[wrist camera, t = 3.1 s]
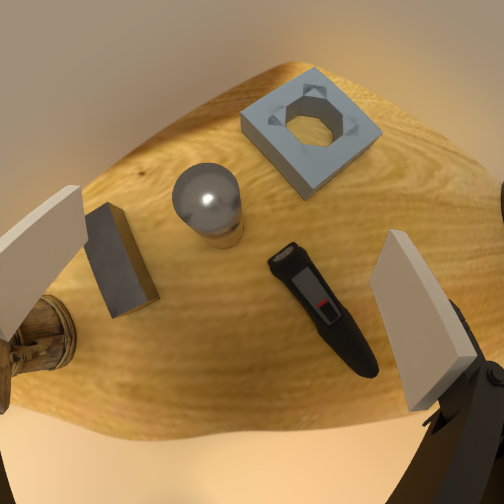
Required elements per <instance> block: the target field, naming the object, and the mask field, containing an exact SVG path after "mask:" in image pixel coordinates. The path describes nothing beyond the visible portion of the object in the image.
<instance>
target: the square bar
mask: <svg viewBox="0 0 504 504" xmlns="http://www.w3.org/2000/svg"><path fill="white" fill-rule="evenodd" d="M85 222H86V228H87V235H88V241H87V242H86V244H85V245H84V249H85V252H86V254H87V257H88V260H89V263H90V265H91V268H92V271H93V273H94V276H95V279H96V281H97V284H98V286H99V289H100V291H101V294H102V296H103V298H104V301H105V303H106V305H107V308H108V310H109V312H110V315H111V317H112V319H113V318H117V317H121V316H124V315H128V314H130V313H132V312H134V311H136V310H138V309H140V308H142V307H144V306H146V305H148V304H150V303H152V302H154V301H156V300H158V299H160V297H159V295H158V293H157V290H156V288H155V286H154V284H153V282H152V279H151V277H150V275H149V273H148V270H147V268H146V266H145V263H144V261H143V259H142V256H141V254H140V252H139V249H138V247H137V244H136V242H135V240H134V237H133V235H132V232H131V230H130V227H129V224H128V222H127V219H126V217H125V214H124V211H123V210H121V209H120V208H118V207H116V206H114V205H112V204H111V203H109V202H107V203H105V204H103V205H102V206H100V207H99V208H97V209H95V210H94V211H92V212H91V213H89V214H87V215H86V216H85Z"/></svg>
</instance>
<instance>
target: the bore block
mask: <svg viewBox="0 0 504 504" xmlns="http://www.w3.org/2000/svg"><path fill="white" fill-rule="evenodd" d="M297 115H302V116H310V117H317V118H319V119H320V120H321V121H322V122H323V123H324V124H325V125H326V126H327V127H328V128H329V129H330V130H331V131H332V132H333V143H332V144H330V145H329V146H328V147H321V146H314V145H307V144H302V143H301V142H300V141H299V140H298V139H297V138H296V137H295V136H294V135H293V134H292V133H291V132H290V131H289V130H288V129H287V128H286V127H285V123H287V122H288V121H290V120H291V119H293V118H294V117H295V116H297ZM240 116H241V131H242V132H243V133H244V134H245V135H246V136H247V137H248V139H249V140H250V141H251V142H252V143H253V144H254V145H255V146H256V147H257V148H258V149H259V150H260V151H261V152H262V153H263V154H264V155H265V157H266V158H267V159H268V160H269V161H270V162H271V163H272V164H273V165H274V166H275V167H276V168H277V170H278V171H279V172H280V173H281V174H282V175H283V176H284V177H285V178H286V180H287V181H288V182H289V183H290V184H291V185H292V186H293V187H294V189H295V190H296V191H297V192H298V193H299V194H300V195H301V196H302V198H303V199H304V200H306V199H308V198H309V197H310V196H311V195H313V194H314V193H315V192H316V191H317V190H319V189H320V188H321V187H322V186H323V185H325V184H326V183H327V182H328V181H330V180H331V179H332V178H333V177H334V176H336V175H337V174H338V173H339V172H341V171H342V170H343V169H344V168H346V167H347V166H348V165H349V164H350V163H352V162H353V161H354V160H355V159H357V158H358V157H359V156H360V155H361V154H363V153H364V152H365V151H366V150H368V149H369V148H370V147H371V146H372V145H373V143H374V142H375V141H376V140H377V139H378V138H379V137H380V136H381V134H382V133H383V132H382V131H381V130H380V129H379V128H378V127H377V126H376V125H375V124H374V122H373V121H372V120H371V119H370V118H369V117H368V116H367V115H366V114H365V113H364V112H363V111H362V110H361V109H360V108H359V107H358V106H357V105H356V104H355V103H354V102H353V101H352V100H351V99H350V98H349V97H348V96H347V95H346V94H345V93H344V92H342V91H341V90H340V89H339V88H338V87H337V86H336V85H335V84H334V83H333V82H332V81H330V80H329V79H328V78H327V77H326V76H325V75H324V74H323V73H321V72H320V71H319V70H318V69H317V68H316V67H313V68H311V69H310V70H308V71H306V72H304V73H302V74H301V75H299V76H297V77H296V78H294V79H292V80H290V81H289V82H287V83H285V84H284V85H282V86H280V87H279V88H277V89H275V90H274V91H272V92H271V93H269V94H267V95H266V96H264V97H263V98H261V99H259V100H258V101H256V102H255V103H253V104H252V105H250V106H249V107H247V108H246V109H244V110H243V111H241V112H240Z"/></svg>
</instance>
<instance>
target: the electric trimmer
mask: <svg viewBox="0 0 504 504" xmlns="http://www.w3.org/2000/svg"><path fill="white" fill-rule="evenodd" d="M268 264H269V265H270V270H271V272H272V274H273V275H274V276H275V277H277V278H278V279H280V280H281V281H282V282H283V283H284V284H285V285H286V286H287V288H288V289H289V290H290V291H291V292H292V293H293V295H294V296H295V297H296V298H297V299H298V301H299V302H300V303H301V304H302V306H303V307H304V308H305V309H306V311H307V312H308V313H309V315H310V316H311V318H312V319H313V321H314V322H315V323H316V326H317V328H318V332H319V334H320V335H321V336H322V338H323V339H324V340H325V341H326V342H327V343H328V344H329V345H330V346H331V347H332V349H333V350H334V351H335V352H336V353H337V354H338V355H339V356H340V357H341V358H342V359H343V360H344V361H345V362H346V363H347V364H348V365H349V367H350V368H351V369H352V370H354V371H355V372H356V373H357V374H358V375H359V376H362V377H366V378H374V377H376V376H377V375H378V373H379V367H378V363H377V360H376V358H375V356H374V354H373V352H372V350H371V349H370V347H369V345H368V343H367V342H366V340H365V338H364V336H363V335H362V333H361V331H360V329H359V328H358V326H357V324H356V323H355V321H354V319H353V318H352V316H351V315H350V313H349V312H348V310H347V309H346V308H344V307H343V305H342V304H341V303H340V302H339V300H338V299H337V298H336V296H335V295H334V293H333V292H332V290H331V289H330V287H329V286H328V284H327V283H326V281H325V280H324V279H323V277H322V276H321V274H320V273H319V271H318V270H317V268H316V267H315V265H314V264H313V262H312V261H311V259H310V258H309V256H308V254H307V252H306V251H305V250H304V249H303V248H301V247H299V246H298V245H297V244H296V243H295V242H292V243H290V244H288V245H287V246H286V247H285V248H283V249H282V250H281V251H279V252H278V253H277V254H275V255H274V256H273V257H272V258H270V259H269V260H268Z"/></svg>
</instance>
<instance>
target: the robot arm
mask: <svg viewBox="0 0 504 504" xmlns="http://www.w3.org/2000/svg"><path fill="white" fill-rule="evenodd" d="M502 212H503V219H504V182H503V187H502ZM87 241H88V235H87V228H86V222H85V215H84V208H83V200H82V191H81V186H74V185H67V186H66V187H65V188H63V189H62V190H60V191H59V192H58V193H56V194H55V195H53V196H52V197H51V198H49V199H48V200H47V201H45V202H44V203H43V204H41V205H40V206H39V207H38V208H36V209H35V210H33V211H32V212H31V213H30V214H28V215H27V216H26V217H25V218H23V219H22V220H21V221H20V222H19V223H17V224H16V225H15V226H14V227H13V228H11V229H10V230H9V231H8V232H7V233H6V234H4V235H3V236H2V237H1V238H0V338H1V339H3V340H5V341H7V342H9V341H10V339H11V338H12V336H13V335H14V333H15V332H16V330H17V329H18V327H19V326H20V325H21V323H22V322H23V320H24V319H25V318H26V316H27V315H28V313H29V312H30V311H31V309H32V308H33V307H34V305H35V304H36V303H37V301H38V300H39V299H40V297H41V296H42V295H43V294H44V292H45V291H46V290H47V288H48V287H49V286H50V285H51V283H52V282H53V281H54V280H55V279H56V277H57V276H58V275H59V274H60V272H61V271H62V270H63V269H64V268H65V266H66V265H67V264H68V263H69V262H70V261H71V259H72V258H73V257H74V256H75V255H76V254H77V253H78V251H79V250H80V249H81V248H82V247H83V246H84V245H85V244H86V242H87ZM369 283H370V286H371V289H372V292H373V294H374V297H375V300H376V303H377V306H378V308H379V311H380V314H381V317H382V320H383V323H384V326H385V329H386V332H387V335H388V339H389V342H390V345H391V348H392V351H393V355H394V358H395V362H396V365H397V368H398V372H399V375H400V379H401V383H402V386H403V390H404V394H405V398H406V402H407V406H408V410H409V412H411V411H421V410H428V409H429V408H430V407H431V406H432V405H433V404H434V403H435V402H436V401H437V400H438V401H439V404H440V408H439V409H438V410H437V411H436V412H435V413H434V414H433V415H432V416H431V417H429V418H428V419H427V420H426V421H425V422H424V423H423V425H422V426H424V427H425V426H426V425H427V424H428V423H429V422H431V423H430V425H429V427H428V430H427V432H426V434H425V436H424V438H423V440H422V442H421V444H420V446H419V448H418V450H417V452H416V454H415V456H414V457H413V459H412V461H411V463H410V465H409V466H408V468H407V470H406V471H405V473H404V475H403V477H402V478H401V480H400V482H399V483H398V485H397V486H396V488H395V490H394V491H393V493H392V494H391V496H390V497H389V499H388V501H387V502H386V503H385V504H504V369H503V368H502V367H501V366H500V365H499V364H498V363H496V362H493V361H486V359H485V357H484V355H483V353H482V351H481V349H480V347H479V345H478V343H477V341H476V339H475V337H474V335H473V333H472V331H470V328H469V326H468V324H467V322H465V318H464V316H463V315H462V313H461V311H460V309H459V308H458V307H457V306H456V305H455V304H454V303H453V302H452V301H451V300H450V299H448V298H447V296H446V295H445V293H444V291H443V290H442V288H441V286H440V285H439V283H438V281H437V280H436V278H435V276H434V275H433V273H432V272H431V270H430V268H429V267H428V265H427V264H426V262H425V261H424V259H423V257H422V256H421V254H420V253H419V251H418V250H417V248H416V247H415V245H414V244H413V242H412V241H411V240H410V238H409V237H408V235H407V234H406V232H404V231H399V230H394V229H389V232H388V235H387V237H386V240H385V243H384V245H383V248H382V250H381V253H380V255H379V258H378V260H377V263H376V265H375V268H374V270H373V273H372V275H371V277H370V280H369ZM0 504H16V503H15V500H14V497H13V494H12V491H11V488H10V485H9V482H8V478H7V475H6V471H5V468H4V464H3V460H2V456H1V452H0Z"/></svg>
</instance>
